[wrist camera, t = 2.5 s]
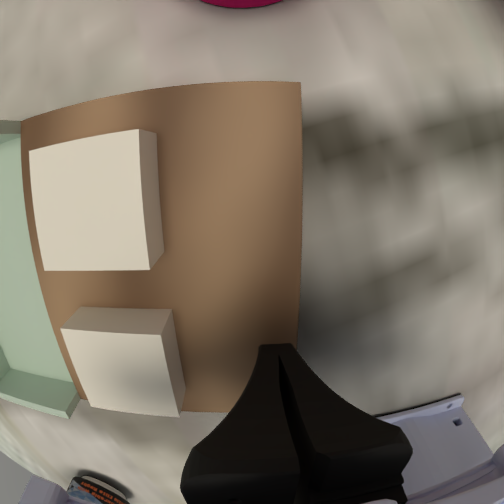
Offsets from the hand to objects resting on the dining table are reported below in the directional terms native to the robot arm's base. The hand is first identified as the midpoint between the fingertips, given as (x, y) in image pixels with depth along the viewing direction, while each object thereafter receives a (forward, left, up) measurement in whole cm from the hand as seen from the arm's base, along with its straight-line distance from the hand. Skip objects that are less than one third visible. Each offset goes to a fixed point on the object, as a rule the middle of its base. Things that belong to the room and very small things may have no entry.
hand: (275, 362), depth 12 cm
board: (+5, -3, -2) cm, 6 cm away
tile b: (+6, -7, -1) cm, 10 cm away
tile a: (+6, 0, -1) cm, 7 cm away
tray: (+14, -3, -2) cm, 15 cm away
